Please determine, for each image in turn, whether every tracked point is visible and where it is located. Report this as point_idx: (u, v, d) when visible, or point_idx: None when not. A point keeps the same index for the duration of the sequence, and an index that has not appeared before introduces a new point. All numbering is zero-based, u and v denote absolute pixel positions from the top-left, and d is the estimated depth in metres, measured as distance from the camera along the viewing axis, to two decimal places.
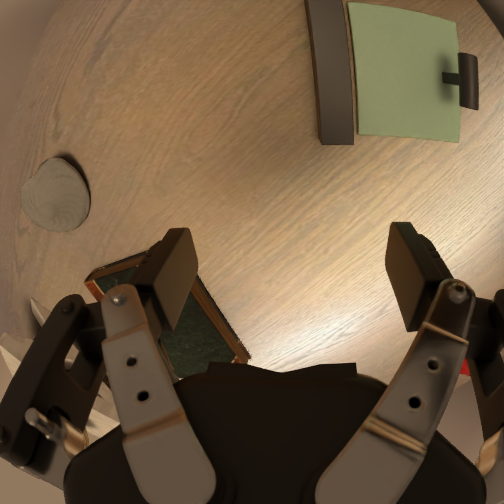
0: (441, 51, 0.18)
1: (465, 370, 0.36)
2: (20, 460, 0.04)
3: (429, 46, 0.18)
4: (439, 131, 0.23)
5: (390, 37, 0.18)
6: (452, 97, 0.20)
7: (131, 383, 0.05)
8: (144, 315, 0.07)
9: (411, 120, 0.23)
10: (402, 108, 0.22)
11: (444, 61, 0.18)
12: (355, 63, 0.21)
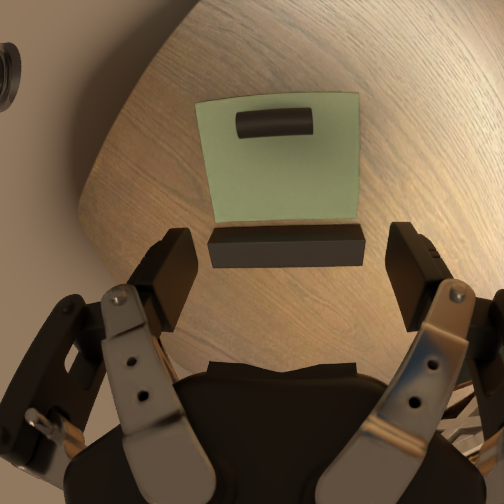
0: None
1: None
2: (20, 459, 0.04)
3: (242, 139, 0.24)
4: (349, 124, 0.22)
5: (245, 185, 0.26)
6: (300, 106, 0.21)
7: (131, 383, 0.05)
8: (144, 315, 0.07)
9: (339, 162, 0.24)
10: (326, 173, 0.24)
11: None
12: (282, 219, 0.28)
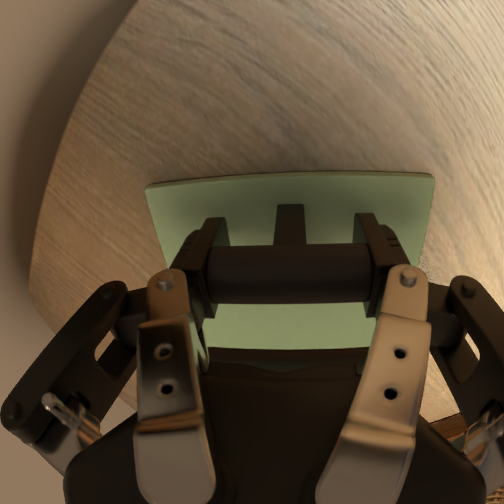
0: (230, 226, 0.14)
1: None
2: (29, 437, 0.04)
3: None
4: (410, 230, 0.13)
5: (236, 311, 0.17)
6: (334, 200, 0.12)
7: (158, 374, 0.05)
8: (188, 305, 0.07)
9: None
10: None
11: (251, 220, 0.14)
12: None
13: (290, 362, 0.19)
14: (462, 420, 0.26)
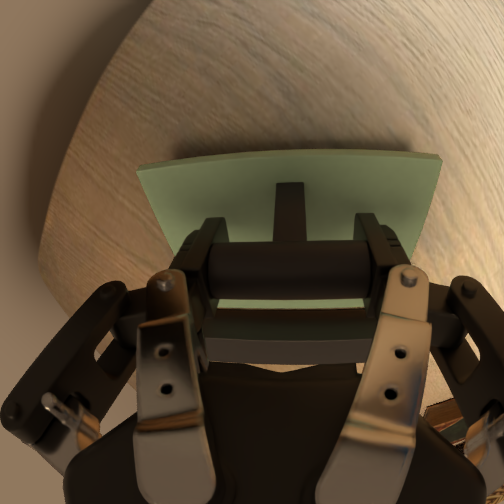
0: (228, 203, 0.13)
1: None
2: (29, 437, 0.04)
3: (228, 226, 0.14)
4: (412, 208, 0.12)
5: None
6: (336, 179, 0.12)
7: (158, 374, 0.05)
8: (188, 305, 0.07)
9: None
10: None
11: (250, 197, 0.13)
12: None
13: (291, 320, 0.20)
14: None
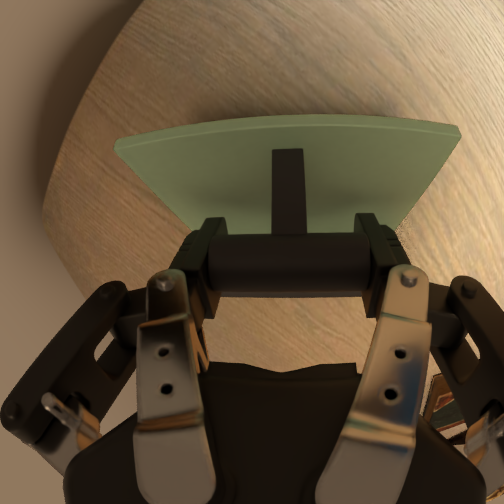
0: (219, 167, 0.12)
1: None
2: (29, 437, 0.04)
3: (222, 185, 0.13)
4: (420, 171, 0.11)
5: (236, 219, 0.17)
6: (339, 145, 0.10)
7: (158, 374, 0.05)
8: (188, 305, 0.07)
9: (385, 204, 0.14)
10: (362, 211, 0.15)
11: (243, 162, 0.11)
12: None
13: None
14: None
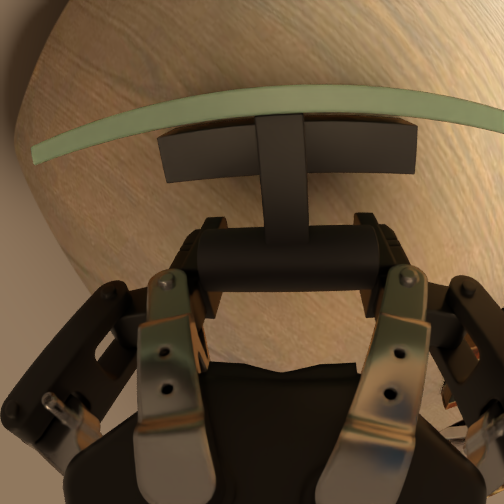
0: None
1: None
2: (29, 437, 0.04)
3: None
4: None
5: None
6: None
7: (158, 374, 0.05)
8: (189, 305, 0.07)
9: None
10: None
11: None
12: None
13: None
14: None
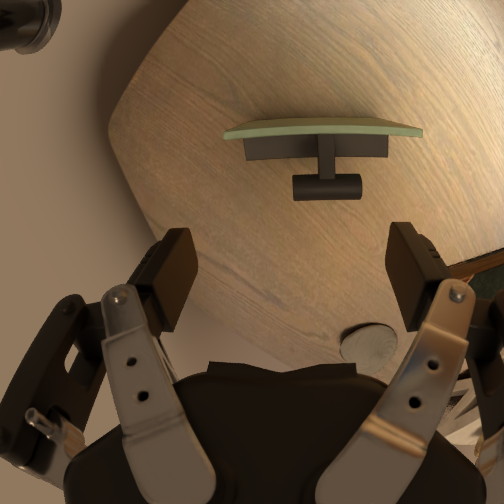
0: None
1: None
2: (21, 459, 0.04)
3: None
4: None
5: None
6: None
7: (131, 383, 0.05)
8: (144, 315, 0.07)
9: None
10: None
11: None
12: None
13: None
14: (469, 267, 0.34)
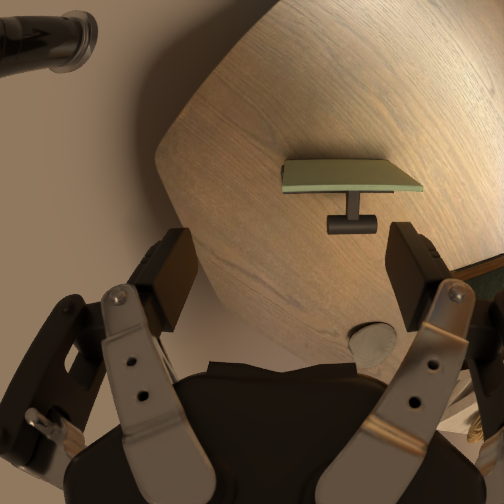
0: None
1: None
2: (20, 459, 0.04)
3: None
4: None
5: None
6: None
7: (131, 383, 0.05)
8: (144, 315, 0.07)
9: None
10: None
11: None
12: None
13: None
14: (457, 276, 0.42)
